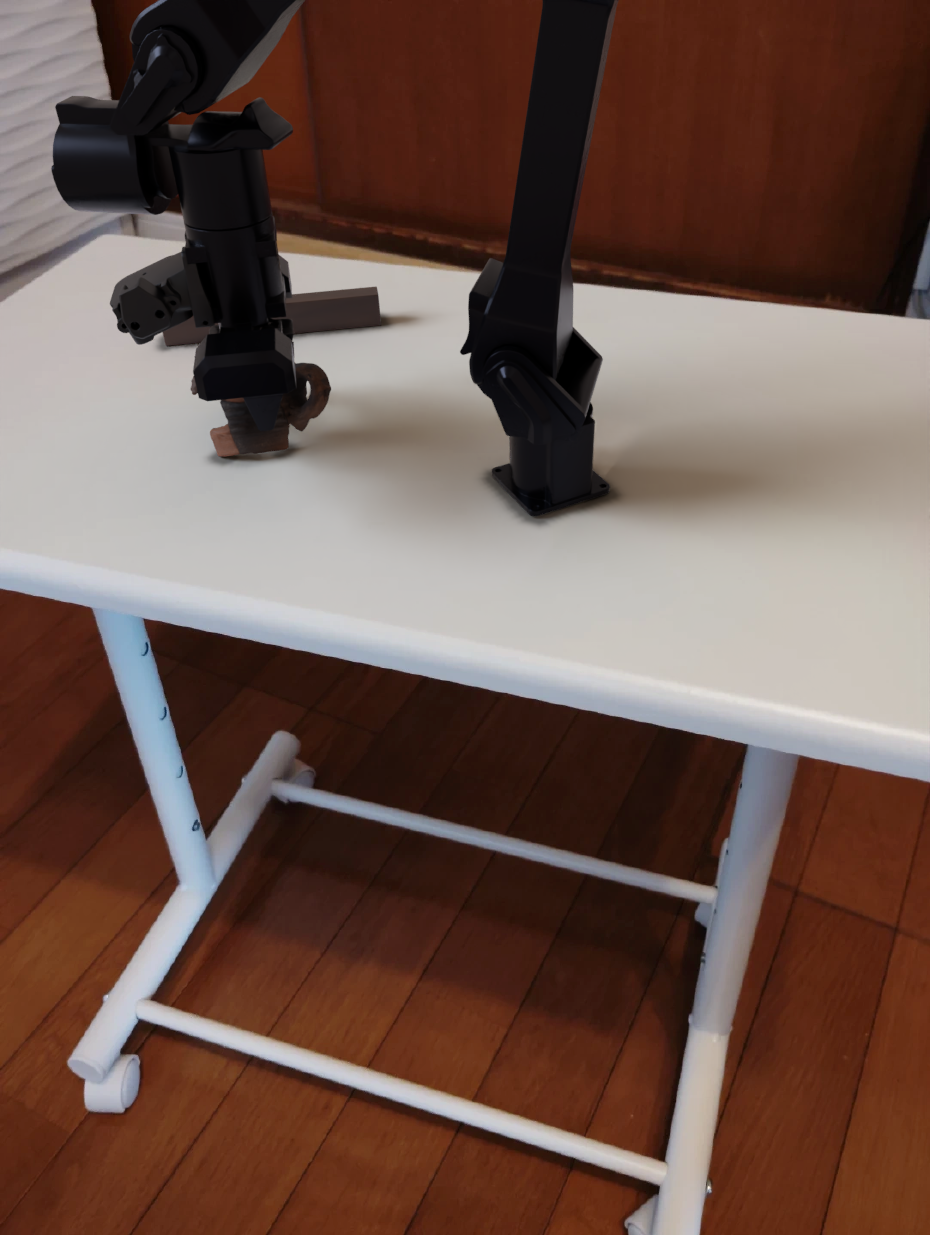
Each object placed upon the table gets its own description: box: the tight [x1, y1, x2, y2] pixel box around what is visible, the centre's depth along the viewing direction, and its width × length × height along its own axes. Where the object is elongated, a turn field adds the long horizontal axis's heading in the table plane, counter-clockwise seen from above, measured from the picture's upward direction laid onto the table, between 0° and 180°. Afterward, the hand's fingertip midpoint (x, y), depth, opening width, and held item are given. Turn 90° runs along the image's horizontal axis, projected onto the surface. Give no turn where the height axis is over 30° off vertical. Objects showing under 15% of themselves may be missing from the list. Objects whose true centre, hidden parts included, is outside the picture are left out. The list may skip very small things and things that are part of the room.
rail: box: [162, 286, 382, 347], centre depth 94 cm, size 2×20×3 cm, turn 98°
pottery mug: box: [189, 362, 332, 458], centre depth 80 cm, size 12×10×8 cm
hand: (266, 429), depth 76 cm, fingers closed
